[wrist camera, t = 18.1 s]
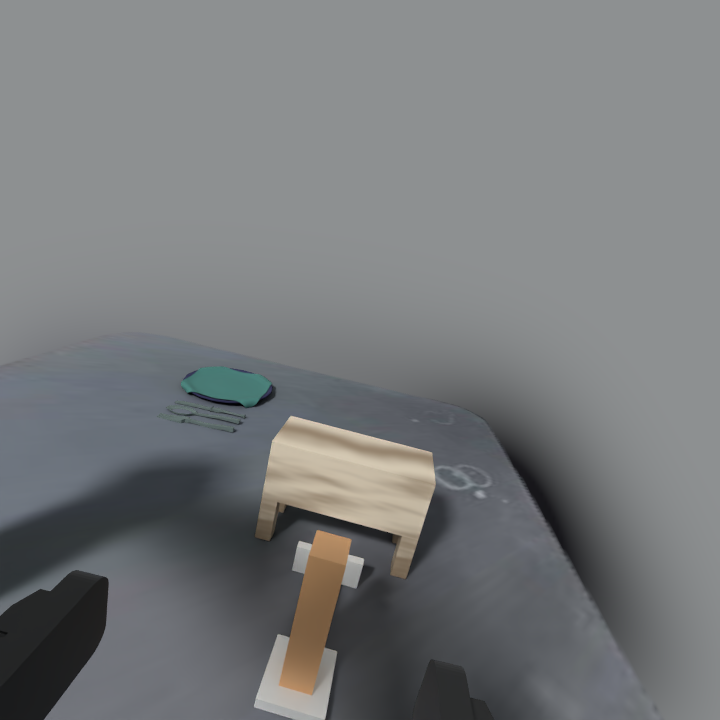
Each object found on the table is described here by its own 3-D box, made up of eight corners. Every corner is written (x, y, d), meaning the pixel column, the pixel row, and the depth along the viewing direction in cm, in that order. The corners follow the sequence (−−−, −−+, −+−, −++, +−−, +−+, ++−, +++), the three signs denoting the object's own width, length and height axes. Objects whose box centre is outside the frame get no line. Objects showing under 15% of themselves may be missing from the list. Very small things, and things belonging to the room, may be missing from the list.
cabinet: (405, 579, 51) (435, 484, 47) (254, 537, 52) (272, 441, 48) (406, 530, 60) (431, 447, 57) (277, 495, 61) (293, 411, 58)
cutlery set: (280, 385, 104) (281, 377, 104) (241, 439, 76) (243, 429, 75) (204, 369, 104) (205, 360, 103) (136, 417, 75) (137, 406, 75)
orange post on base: (334, 731, 34) (376, 589, 30) (242, 703, 34) (271, 560, 30) (357, 582, 49) (387, 475, 45) (294, 564, 49) (317, 457, 45)
